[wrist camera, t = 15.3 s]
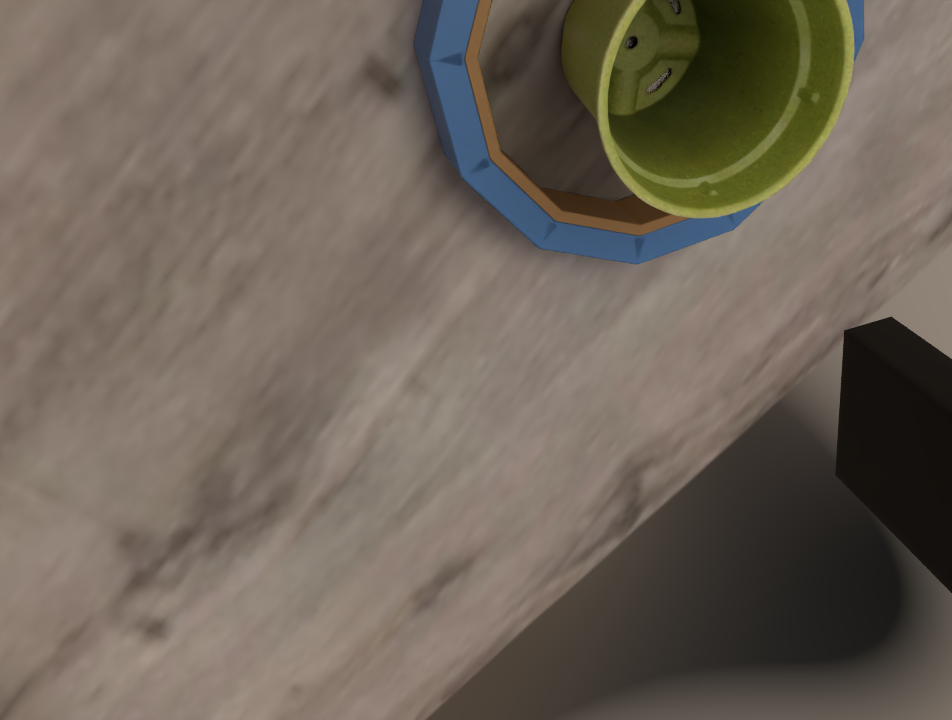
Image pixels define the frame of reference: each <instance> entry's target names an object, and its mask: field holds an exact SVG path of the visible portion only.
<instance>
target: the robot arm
mask: <svg viewBox="0 0 952 720" xmlns="http://www.w3.org/2000/svg"><path fill="white" fill-rule="evenodd" d="M835 475H836V476H837V477H838V478H839V479H840V480H841V481H842V482H843V483H844V484H845V485H846V486H847V487H848V488H849V489H850V490H851V491H852V492H853V493H854V494H855V495H856V496H857V497H858V498H859V499H860V500H861V501H862V502H863V503H864V504H865V505H866V506H867V507H868V508H869V509H870V510H871V512H873V513H874V515H875V516H876V517H877V518H878V519H879V520H880V521H881V522H882V523H883V524H884V525H886V527H887V528H888V529H889V530H890V531H891V532H892V533H893V534H894V535H895V536H896V537H897V538H898V539H899V540H900V541H901V542H902V543H903V544H904V545H905V546H906V547H907V548H908V549H909V550H910V551H911V552H912V553H913V554H914V555H915V556H916V557H917V558H918V559H919V560H920V561H921V562H922V563H923V564H924V565H925V566H926V567H927V568H928V569H929V570H930V571H931V573H932V574H933V575H935V577H936V578H937V579H938V580H939V581H940V582H941V583H942V584H943V585H944V586H945V587H946V588H947V589H948V590H949V591H950V592H951V593H952V359H951V358H949V357H948V356H946V355H945V354H944V353H942V352H941V351H939V350H938V349H937V348H935V347H934V346H932V345H931V344H929V343H928V342H926V341H925V340H924V339H922V338H921V337H920V336H918V335H917V334H915V333H914V332H912V331H911V330H910V329H908V328H907V327H905V326H904V325H902V324H901V323H900V322H898V321H896V320H895V319H894V318H893V317H889V318H885V319H882V320H878V321H875V322H871V323H868V324H865V325H861V326H858V327H854V328H851V329H848V330H844V344H843V361H842V377H841V393H840V409H839V426H838V441H837V457H836V474H835Z"/></svg>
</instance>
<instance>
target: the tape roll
mask: <svg viewBox="0 0 952 720" xmlns="http://www.w3.org/2000/svg"><path fill="white" fill-rule="evenodd" d="M846 1H847V4H848V7H849V10H850V14H851V18H852V24H853V30H854V61H855V59H856V56H857V54H858V52H859V50H860V47H861V45H862V43H863V40H864V0H846ZM491 4H492V0H423V4H422V8H421V13H420V17H419V22H418V26H417V31H416V35H415V40H414V49H415V52H416V56H417V59H418V63H419V66H420V70H421V73H422V77H423V80H424V84H425V87H426V91H427V94H428V98H429V101H430V105H431V108H432V112H433V115H434V119H435V122H436V126H437V129H438V133H439V136H440V140H441V143H442V147H443V150H444V154H445V156H446V157H447V159H448V160H449V161H450V163H451V164H452V165H453V167H454V168H455V170H456V171H457V172H458V174H459V175H460V176H461V178H462V179H463V180H464V181H465V182H466V183H467V184H469V185H470V186H471V187H472V188H473V189H474V190H475V191H476V192H477V193H478V194H479V195H481V196H482V197H483V198H484V199H485V200H486V201H487V202H488V203H489V204H490V205H492V206H493V207H494V208H495V209H496V210H497V211H498V212H499V213H500V214H501V215H503V216H504V217H505V218H506V219H507V220H508V221H509V222H510V223H511V224H512V225H513V226H515V227H516V228H517V229H518V230H519V231H520V232H521V233H522V234H523V235H524V236H526V237H527V238H528V239H529V240H530V241H531V242H532V243H533V244H534V245H535V246H537V247H539V248H540V249H545V250H552V251H558V252H564V253H570V254H576V255H582V256H588V257H594V258H600V259H607V260H613V261H619V262H625V263H631V264H640V263H643V262H646V261H648V260H651V259H654V258H657V257H659V256H662V255H665V254H668V253H671V252H673V251H676V250H679V249H682V248H684V247H687V246H690V245H693V244H696V243H698V242H701V241H704V240H707V239H709V238H712V237H715V236H718V235H720V234H723V233H726V232H729V231H732V230H734V229H735V228H736V227H737V226H738V225H739V224H740V223H741V222H742V221H743V220H744V219H746V218H747V217H748V216H749V215H750V214H751V213H752V212H753V211H754V210H755V209H756V208H757V207H758V206H759V205H760V204H761V203H762V202H763V201H762V202H760V203H758V204H756V205H754V206H751V207H749V208H746V209H743V210H741V211H738V212H736V213H732V214H729V215H724V216H720V217H714V218H688V217H681V216H676V215H673V214H670V213H667V212H664V211H661V210H659V209H657V208H655V207H653V206H651V205H649V204H647V203H646V202H644V201H642V200H641V199H640V198H638V197H637V196H636V195H633V196H630V197H627V198H624V199H621V200H618V201H616V202H614V201H609V200H603V199H598V198H593V197H587V196H582V195H577V194H572V193H566V192H561V191H556V190H550V189H545V188H540V187H539V186H538V185H537V184H536V183H535V182H534V181H533V180H532V179H531V178H530V177H529V176H528V175H527V174H526V173H525V172H523V171H522V170H521V169H520V168H519V167H518V166H517V165H516V164H515V163H514V162H513V161H512V160H511V159H510V158H509V157H508V156H507V155H506V154H505V153H504V152H503V151H502V150H501V149H500V145H499V141H498V137H497V133H496V129H495V125H494V121H493V117H492V113H491V109H490V105H489V101H488V97H487V93H486V89H485V85H484V81H483V77H482V73H481V69H480V65H479V61H478V55H479V51H480V47H481V43H482V39H483V35H484V31H485V27H486V24H487V20H488V16H489V12H490V8H491Z"/></svg>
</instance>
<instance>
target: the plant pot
mask: <svg viewBox="0 0 952 720" xmlns="http://www.w3.org/2000/svg"><path fill="white" fill-rule="evenodd" d="M679 3H680V7H681V11H680V14H675V12H674V11H673V9H672V7H671V4H670V3H669V1H668V0H574V1H573V3H572V5H571V6H570V9H569V11H568V13H567V15H566V18H565V22H564V30H563V38H562V48H561V62H562V67H563V71H564V74H565V77H566V79H567V81H568V83H569V85H570V87H571V88H572V90H573V91H574V93H575V94H576V95H577V97H578V98H579V99H580V100H581V102H582V103H583V104H584V105H585V107H586V108H587V109H588V110H589V112H590V113H591V114H592V116H593V117H594V118H595V120H596V121H597V127H598V132H599V136H600V140H601V143H602V146H603V149H604V152H605V154H606V156H607V159H608V161H609V163H610V164H611V166H612V168H613V170H614V171H615V173H616V174H617V175H618V177H619V178H620V180H621V181H622V182H623V183H624V184H625V185H626V186H627V187H628V188H629V189H630V190H631V191H632V192H633V193H634V194H635V195H636V196H637V197H638V198H640V199H641V200H642V201H644V202H646V203H647V204H649V205H651V206H653V207H655V208H657V209H659V210H661V211H664V212H667V213H670V214H673V215H676V216H681V217H688V218H714V217H720V216H724V215H729V214H732V213H736V212H738V211H741V210H743V209H746V208H749V207H751V206H754V205H756V204H758V203H760V202H762V201H764V200H766V199H768V198H769V197H771V196H772V195H774V194H775V193H777V192H778V191H779V190H781V189H782V188H783V187H784V186H786V185H787V184H788V183H789V182H790V181H791V180H792V179H793V178H794V177H796V176H797V175H798V174H799V173H801V171H802V170H803V169H804V168H805V167H806V166H807V165H808V164H809V163H810V162H811V160H812V159H813V158H814V156H815V155H816V153H817V152H818V150H819V149H820V148H821V147H822V145H823V144H824V143H825V141H826V140H827V138H828V137H829V135H830V133H831V131H832V130H833V128H834V126H835V124H836V122H837V120H838V117H839V115H840V112H841V109H842V107H843V105H844V101H845V99H846V96H847V93H848V90H849V86H850V81H851V76H852V69H853V63H854V30H853V24H852V18H851V14H850V10H849V7H848V4H847V1H846V0H679ZM632 36H635V37H636V38H637V40H638V43H637V45H636V46H635V47H634V48H632V49H629V48H627V47H626V42H627V40H628V38H630V37H632ZM667 68H671V75H670V76H669V78H668V79H667V80H666V81H665V82H664V83H663V84H662V86H661V87H660V88H659V89H658V90H656V91H655V92H653V93H651V94H650V93H647V88H648V87H649V86H650V85H651V84H652V83H654V82H655V81H656V80H657V79H658V78H659V77H660V76H662V74H664V73H665V71H666V70H667Z"/></svg>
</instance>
